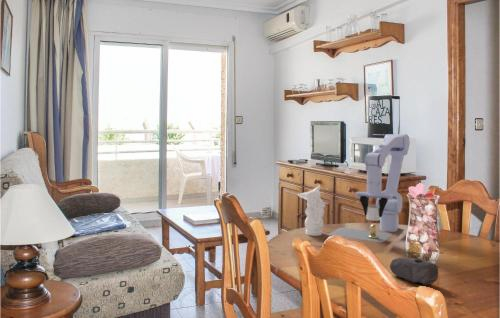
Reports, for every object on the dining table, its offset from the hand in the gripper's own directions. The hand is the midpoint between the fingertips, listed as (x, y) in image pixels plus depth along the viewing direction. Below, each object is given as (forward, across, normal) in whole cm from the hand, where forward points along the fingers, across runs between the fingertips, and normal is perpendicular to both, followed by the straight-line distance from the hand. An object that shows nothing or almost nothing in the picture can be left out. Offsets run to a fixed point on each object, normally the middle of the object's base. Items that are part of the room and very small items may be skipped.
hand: (373, 215), depth 177 cm
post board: (+10, -6, +2) cm, 12 cm away
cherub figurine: (+11, -25, -6) cm, 28 cm away
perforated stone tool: (+11, +23, -40) cm, 47 cm away
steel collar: (+1, 0, 0) cm, 1 cm away
